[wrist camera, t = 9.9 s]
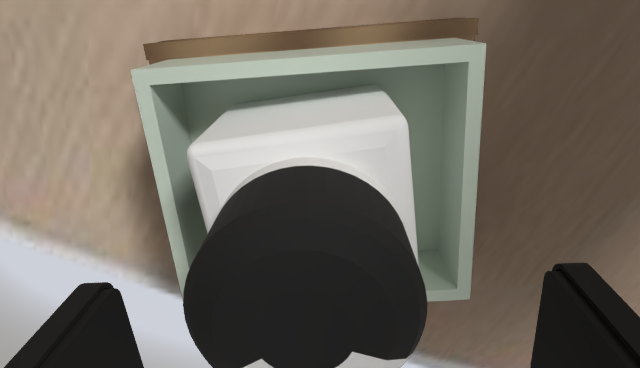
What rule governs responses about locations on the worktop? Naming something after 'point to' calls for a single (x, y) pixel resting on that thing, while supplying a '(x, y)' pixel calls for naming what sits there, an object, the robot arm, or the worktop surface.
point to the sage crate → (324, 75)
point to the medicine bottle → (306, 235)
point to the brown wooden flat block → (312, 39)
